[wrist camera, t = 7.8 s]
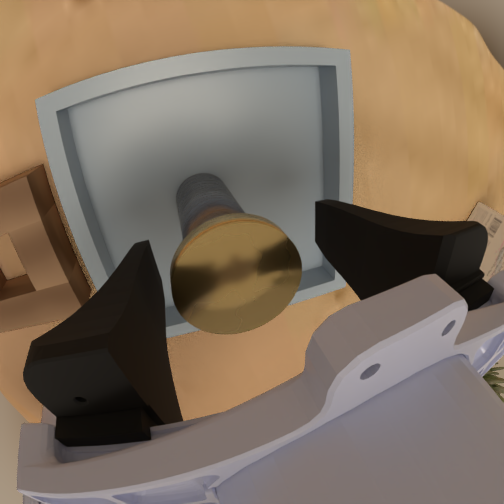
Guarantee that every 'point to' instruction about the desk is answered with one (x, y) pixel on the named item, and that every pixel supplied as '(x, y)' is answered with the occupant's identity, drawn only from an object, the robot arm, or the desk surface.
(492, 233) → the ink cartridge box
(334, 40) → the desk surface
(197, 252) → the lock pin
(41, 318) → the brown square socket base
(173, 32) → the desk surface
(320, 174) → the tray
